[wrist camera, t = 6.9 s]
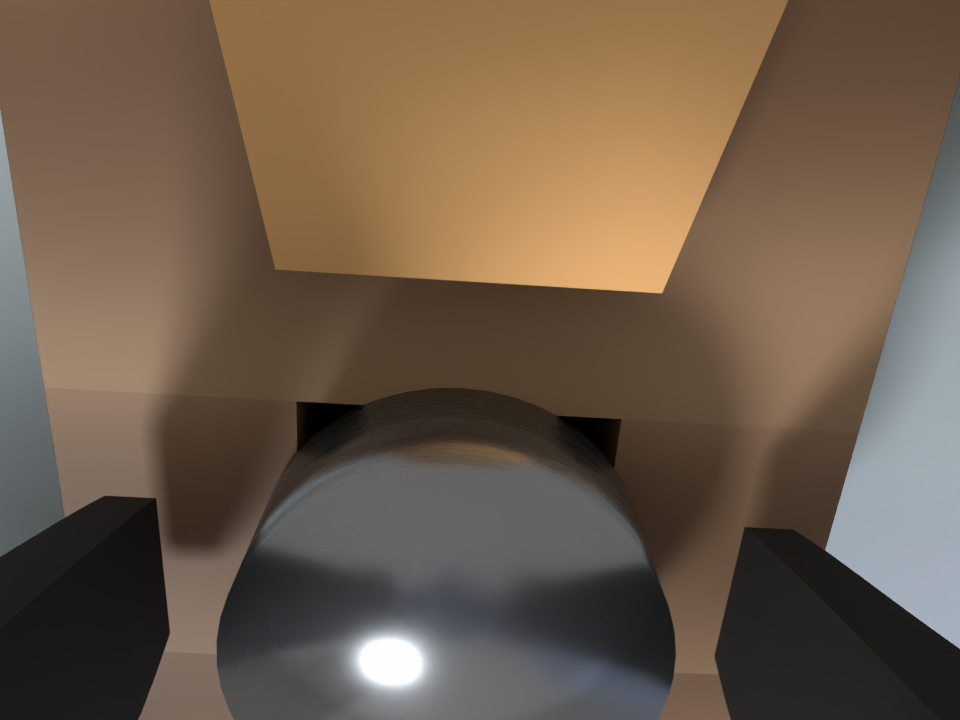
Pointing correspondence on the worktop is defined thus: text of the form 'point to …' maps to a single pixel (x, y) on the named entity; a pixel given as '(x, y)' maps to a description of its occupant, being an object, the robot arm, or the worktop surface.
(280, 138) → the block
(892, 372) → the worktop surface
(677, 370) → the hitch block
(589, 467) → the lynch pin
